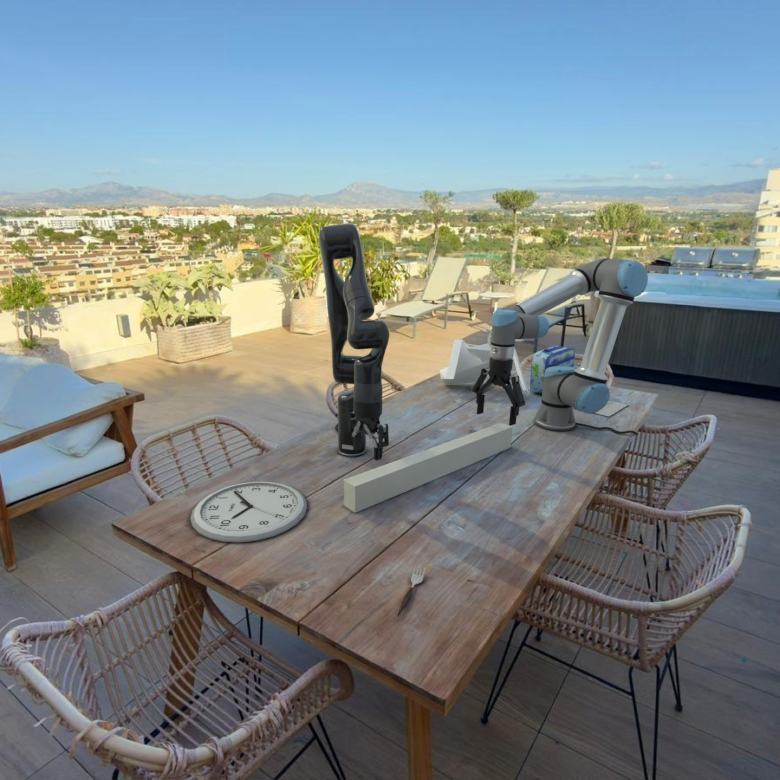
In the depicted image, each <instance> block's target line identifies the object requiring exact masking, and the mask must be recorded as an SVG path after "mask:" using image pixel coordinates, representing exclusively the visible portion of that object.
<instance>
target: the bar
mask: <svg viewBox="0 0 780 780" xmlns="http://www.w3.org/2000/svg"><path fill="white" fill-rule="evenodd" d="M512 438H513V425H512V426H510V425H509V424H506V423H503V422H499V423H496V424H494V425H491V426H488V427H485V428H483V429H479V430H477V431H475V432H472V433H468V434H466V435H464V436H461V437H458V438H455V439H452V440H449V441H447V442H443V443H441V444H439V445H438V444H437V445H436V446H433V447H430V448H427V449H424V450H422V451H419V452H417V453H413V454H411V455H408V456H405V457H403V458H400V459H397V460H395V461H392V462H389V463H387V464H383V465H381V466H378V467H375V468H372V469H369V470H367V471H365V472H362V473H361V472H360V473H359V474H356V475H352V476H350V477H347V478H344V479H343V506H344V507H346V508H347V509H348V510H350V511H351V512H353V513H355V514H356V513H358V512H361V511H363V510H366V509H368V508H370V507H372V506H375V505H377V504H380V503H382V502H384V501H387V500H389V499H392V498H394V497H396V496H399V495H401V494H404V493H406V492H408V491H410V490H413V489H415V488H418V487H420V486H423V485H425V484H427V483H430V482H432V481H434V480H437V479H439V478H441V477H442V478H443V477H444V476H446V475H449V474H452V473H454V472H457V471H458V470H461V469H463V468H465V467H468V466H470V465H473V464H475V463H478V462H480V461H482V460H484V459H487V458H489V457H492V456H494V455H498V454H499V453H501V452H505V451H506V450H509V449H511V448H512V447H511V446H512Z"/></svg>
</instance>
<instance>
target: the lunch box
mask: <svg viewBox="0 0 780 780" xmlns="http://www.w3.org/2000/svg"><path fill="white" fill-rule="evenodd" d="M575 352H576V351H575V349H574V348H573V347H567V346H561V345H553V346H549V347H547V348H543V349H541V350H538V351H537V352H535V353H534V355H533V357H532V359H531V366H530V379H529V391H531V392H532V393H537V394H542V391H543V380H544V374H545V370H546V369H547V368H549V367H556V366H566V367H574V368H575V357H576V354H575Z"/></svg>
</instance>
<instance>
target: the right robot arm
mask: <svg viewBox="0 0 780 780" xmlns="http://www.w3.org/2000/svg"><path fill="white" fill-rule="evenodd" d="M648 281H649V273H648V271H647V269H646V267H645V266H644V265H643V263H642V262H639V261H637V260H632V259H622V258H609V257H603V258H599V259H595V260H592V261H590V262H587V263H585V264H582V265H581V266H579V267H577V268H575V269H573V270H571V271H570V272H569V274H568V276H566V277H564V278H562V279H561V280H558V281H557V282H554V283H553V284H552V285H551V284H550V285H549V286H548V287H546V288H544V289H541V290H540V291H538V292H536V293H535V294H533V295H530V296H529V297H526V298H525V299H523V300H521V301H519V302H518V303H515V304H514V305H512V306H510V307H508V308H506V307H500V308H497V309H496V310H495V312H494V311H493V312H494V313H493V312H492V316H491V337H490V347H491V348H490V356H491V358H490V359H489V369H490V370H489V369H488V368H483V369H481V374H480V376H479V378H478V380H477V382H476V383H474V385H473V387H472V389H471V391H472V393H474V394H475V395H476V400H475V403H476V405H477V406H476V415H482V414H484V411H485V399H486V395H485V392H486V391H488V389H489V388H490V387H491V386H492V385H494V386H497V387H501V388H502V389H503V390H504V391H505V393H506V396H507V397H508V400H509V401H510V403H511V406H510V410H509V419H508V425H509V426H512V427H513V426H515V425H516V424H517V417H518V416H519V414H520V407H523V406H526V400H525V397H524V394H523V393H524V392H523V389H522V386H521V382H520V379H519V376H518V375H512V370H513V365H514V364H513V363H514V360H513V359H511V358H513V355H514V348H515V344H516V343H515V342H516V340H528V339H529V340H530V339H531V340H532V339H534V340H536V339H542V338H544V337H546V336H547V334H548V333H549V330H550V329H549V328H550V322H549V319H548V318H547V317H546V316H545V315H543V314H545V313H547V312H549V311H551V310H552V309H555V308H556V307H558V306H560V305H562V304H564V303H566V302H567V301H569V300H571V299H573V298H575V297H576V296H584V295H586V294H588V293H592V292H598V294H597V296H598V298H599V300H600V302H599V306H598V309H597V312H596V316H595V318H594V321H593V325H592V328H591V330H590V334H589V337H588V341H587V343H586V346H585V349H584V352H583V356H582V358H581V363H580V366H578V367H577V368H576V367H575V366H574V367H566V366H556V367H549V368H547V369H546V370H545V374H544V380H543V391H542V393H541V402H540V405H539V407H538V410H537V411H536V413H535V416H534V424H535V425H536V426H537V427H539V428H542V429H544V430H549V431H556V432H567V431H572V430H574V429H575V428H576V426H581V427H585V428H588V429H593V430H599V431H601V430H609V431H612V432H614V433H616V434H620V435H623V434H624V435H625V434H634V435H635V436H639V433H637V432H636V431H634V430H632V429H631V430H624V431H623V430H622V431H620V430H616V429H614V428H612V427H610V426H600V427H599V426H593V425H589V424H586V423H580V422H576V418H575V417H576V416H575V413H574V409H575V410H577V411H579V412H583V413H585V414H589V415H590V414H591V415H593V414H596V412H598V411H599V410H601V409H602V408H603V407H604V406H605V405H606V404H607V402H608V400H610V395H611V392H610V388H609V387H608V385H607V382H608V377H607V375H606V371H607V368H608V365H609V361H610V359H611V355H612V353H613V349H614V346H615V343H616V340H617V337H618V334H619V331H620V327H621V325H622V322H623V319H624V316H625V313H626V310H627V307H628V306H630V305H632V304H634V301H635V298H636V297H639V296H641V295H642V293H644V292H645V290H646V289H647V286H648V283H649V282H648ZM487 377H489V378H488V379H487ZM486 379H487V380H486ZM510 380H511V382H512V384H511V382H510ZM485 381H486V382H485ZM512 387H513V388H512Z"/></svg>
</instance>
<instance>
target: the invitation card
mask: <svg viewBox="0 0 780 780" xmlns="http://www.w3.org/2000/svg"><path fill="white" fill-rule="evenodd" d="M628 406H629V404H627V403H623V402H618V401H614V400H610V399H609V400H608V402H607V404H606V405H605V406H604V407H603V408H602V409H601V410H599V411H598V412H596V413H595V414H596V415H600V416H604V417H608V418H609V417H611V416H613V415H614V414H616V413H617V412H619V411H621V410H623V409H624V408H626V407H628Z"/></svg>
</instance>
